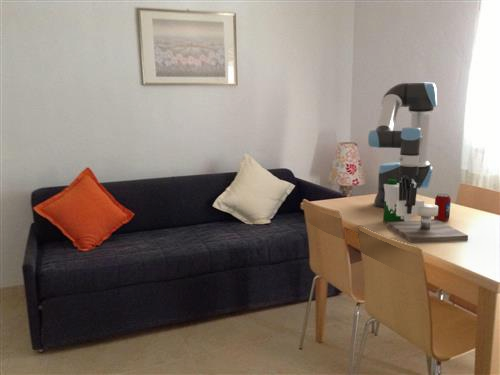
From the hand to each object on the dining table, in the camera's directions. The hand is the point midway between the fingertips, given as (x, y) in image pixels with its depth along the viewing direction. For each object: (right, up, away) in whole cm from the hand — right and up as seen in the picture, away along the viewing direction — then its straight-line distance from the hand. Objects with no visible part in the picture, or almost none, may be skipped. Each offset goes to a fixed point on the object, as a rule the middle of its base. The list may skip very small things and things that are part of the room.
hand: (405, 219), depth 187 cm
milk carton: (+1, -3, +19) cm, 20 cm away
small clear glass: (+9, -4, +2) cm, 10 cm away
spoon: (+5, +2, 0) cm, 5 cm away
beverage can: (+25, -2, +23) cm, 34 cm away
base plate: (+9, -6, +2) cm, 11 cm away
